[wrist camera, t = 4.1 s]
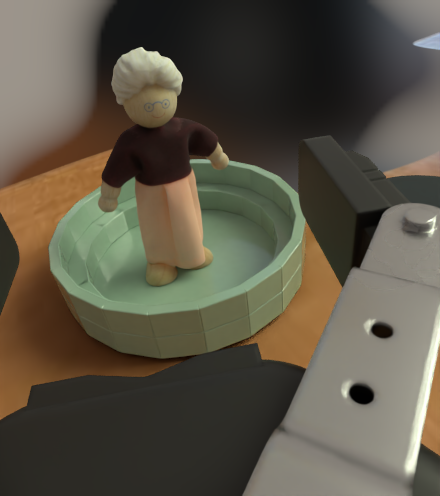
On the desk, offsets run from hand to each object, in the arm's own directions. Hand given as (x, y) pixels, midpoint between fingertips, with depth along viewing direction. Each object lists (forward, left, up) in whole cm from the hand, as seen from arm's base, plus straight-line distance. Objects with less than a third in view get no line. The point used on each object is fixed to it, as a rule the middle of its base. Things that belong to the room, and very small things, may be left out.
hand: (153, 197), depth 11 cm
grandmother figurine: (-1, +11, -12) cm, 16 cm away
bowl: (-1, +11, -12) cm, 16 cm away
